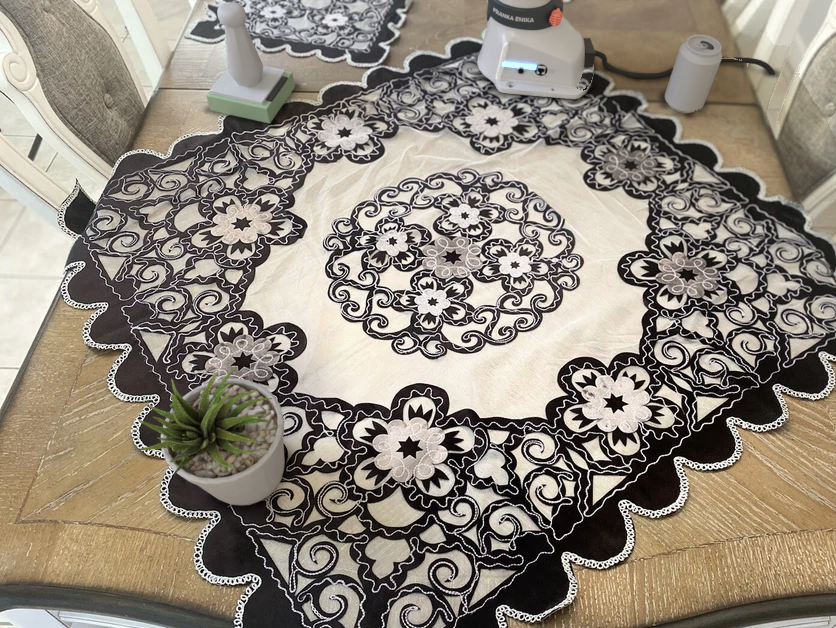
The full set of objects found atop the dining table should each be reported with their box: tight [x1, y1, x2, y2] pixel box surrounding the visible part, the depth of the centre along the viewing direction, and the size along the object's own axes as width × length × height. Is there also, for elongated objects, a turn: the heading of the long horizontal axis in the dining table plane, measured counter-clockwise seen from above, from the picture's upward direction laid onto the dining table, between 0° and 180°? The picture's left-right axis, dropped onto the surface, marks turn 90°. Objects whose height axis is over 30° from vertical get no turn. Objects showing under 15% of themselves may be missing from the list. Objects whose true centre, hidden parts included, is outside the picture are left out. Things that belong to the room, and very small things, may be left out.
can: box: [664, 34, 723, 114], centre depth 122 cm, size 8×8×12 cm
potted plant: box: [138, 366, 286, 506], centre depth 73 cm, size 13×14×20 cm
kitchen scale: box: [206, 65, 296, 124], centre depth 118 cm, size 11×11×4 cm
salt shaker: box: [216, 1, 264, 88], centre depth 111 cm, size 6×6×13 cm
